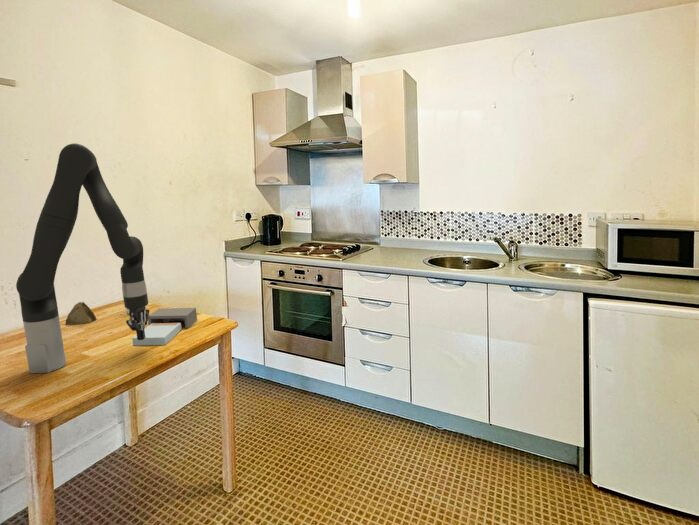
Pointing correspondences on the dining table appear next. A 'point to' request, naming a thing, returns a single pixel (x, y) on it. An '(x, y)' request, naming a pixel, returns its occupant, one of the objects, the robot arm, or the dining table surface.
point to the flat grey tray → (158, 334)
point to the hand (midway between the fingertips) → (141, 339)
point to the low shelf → (173, 315)
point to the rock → (80, 314)
